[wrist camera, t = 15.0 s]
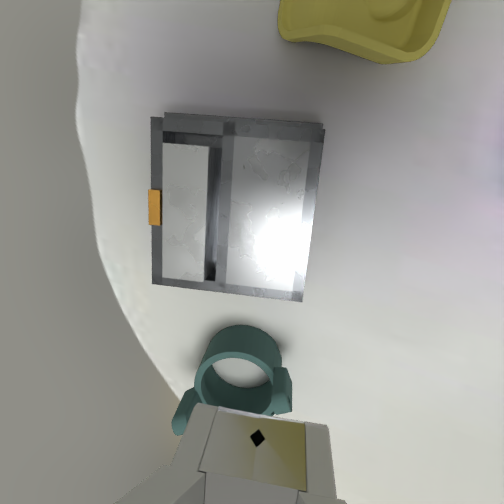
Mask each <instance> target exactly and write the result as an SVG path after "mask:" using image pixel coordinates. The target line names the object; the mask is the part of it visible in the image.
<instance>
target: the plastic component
mask: <svg viewBox="0 0 504 504" xmlns="http://www.w3.org/2000/svg"><path fill="white" fill-rule="evenodd" d="M450 3H451V0H281V1H280V6H279V11H278V30H279V33H280V35H281V37H282V38H283V39H286V40H288V41H291V42H301V41H308V42H316V43H321V44H325V45H329V46H331V47H334V48H337V49H340V50H343V51H345V52H348V53H351V54H354V55H357V56H359V57H362V58H365V59H368V60H371V61H373V62H376V63H379V64H393V63H402V62H410V61H414V60H417V59H419V58H420V57H422V56H424V55H425V54H426V53H427V52H428V51H429V50H430V49H431V47H432V46H433V45H434V43H435V41H436V39H437V37H438V36H439V33H440V30H441V28H442V25H443V22H444V19H445V17H446V14H447V11H448V8H449V6H450Z"/></svg>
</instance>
